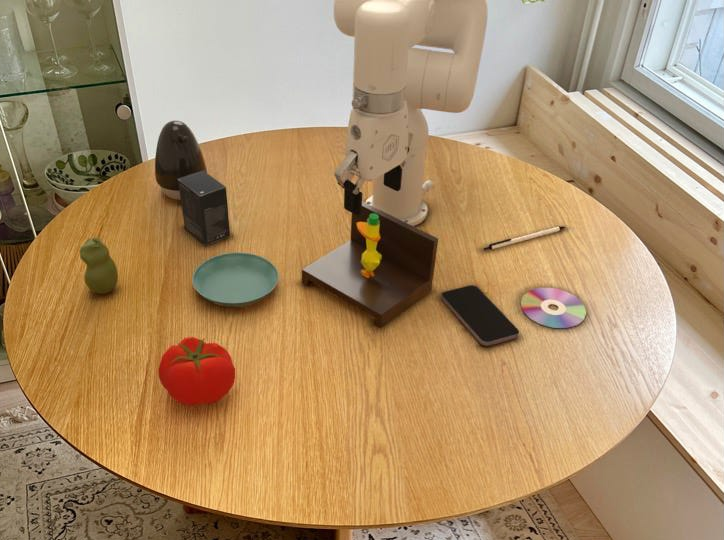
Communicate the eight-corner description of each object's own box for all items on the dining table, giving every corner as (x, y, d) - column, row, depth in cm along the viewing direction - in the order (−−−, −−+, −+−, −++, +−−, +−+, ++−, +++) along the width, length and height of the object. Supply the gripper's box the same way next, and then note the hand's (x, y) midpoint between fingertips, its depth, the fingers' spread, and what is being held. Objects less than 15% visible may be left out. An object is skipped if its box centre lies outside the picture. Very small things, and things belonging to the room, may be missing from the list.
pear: (109, 302, 127) (97, 253, 120) (81, 296, 128) (68, 246, 121) (126, 283, 130) (115, 234, 123) (98, 277, 131) (86, 228, 124)
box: (231, 236, 142) (226, 186, 134) (205, 246, 139) (199, 196, 132) (209, 218, 146) (203, 168, 139) (183, 228, 143) (176, 177, 136)
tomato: (241, 413, 109) (236, 370, 103) (164, 423, 107) (155, 380, 101) (233, 364, 117) (229, 321, 111) (161, 373, 115) (153, 329, 109)
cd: (555, 280, 135) (555, 280, 135) (600, 315, 128) (600, 315, 128) (507, 299, 130) (507, 299, 130) (551, 336, 124) (551, 336, 124)
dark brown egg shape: (169, 212, 147) (158, 139, 137) (151, 187, 154) (139, 116, 143) (217, 199, 151) (210, 128, 140) (198, 176, 157) (189, 106, 147)
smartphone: (475, 283, 133) (522, 333, 122) (474, 289, 133) (521, 338, 123) (438, 292, 130) (483, 343, 120) (438, 298, 131) (482, 349, 121)
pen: (482, 249, 142) (483, 244, 141) (563, 227, 148) (564, 222, 147) (485, 252, 141) (486, 247, 140) (566, 230, 148) (567, 225, 147)
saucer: (295, 279, 133) (294, 267, 131) (248, 326, 123) (247, 313, 122) (225, 255, 137) (224, 242, 136) (176, 297, 128) (174, 285, 126)
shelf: (354, 250, 140) (356, 198, 132) (431, 291, 132) (438, 238, 124) (301, 283, 132) (301, 229, 124) (380, 329, 124) (384, 274, 116)
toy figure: (347, 266, 131) (350, 206, 123) (364, 260, 132) (368, 200, 124) (369, 286, 127) (373, 225, 119) (386, 280, 129) (392, 219, 120)
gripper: (358, 125, 102) (354, 231, 114) (435, 85, 111) (424, 187, 123) (318, 107, 105) (318, 212, 117) (396, 69, 114) (388, 170, 127)
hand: (372, 199), depth 120 cm, fingers open, 9 cm apart
